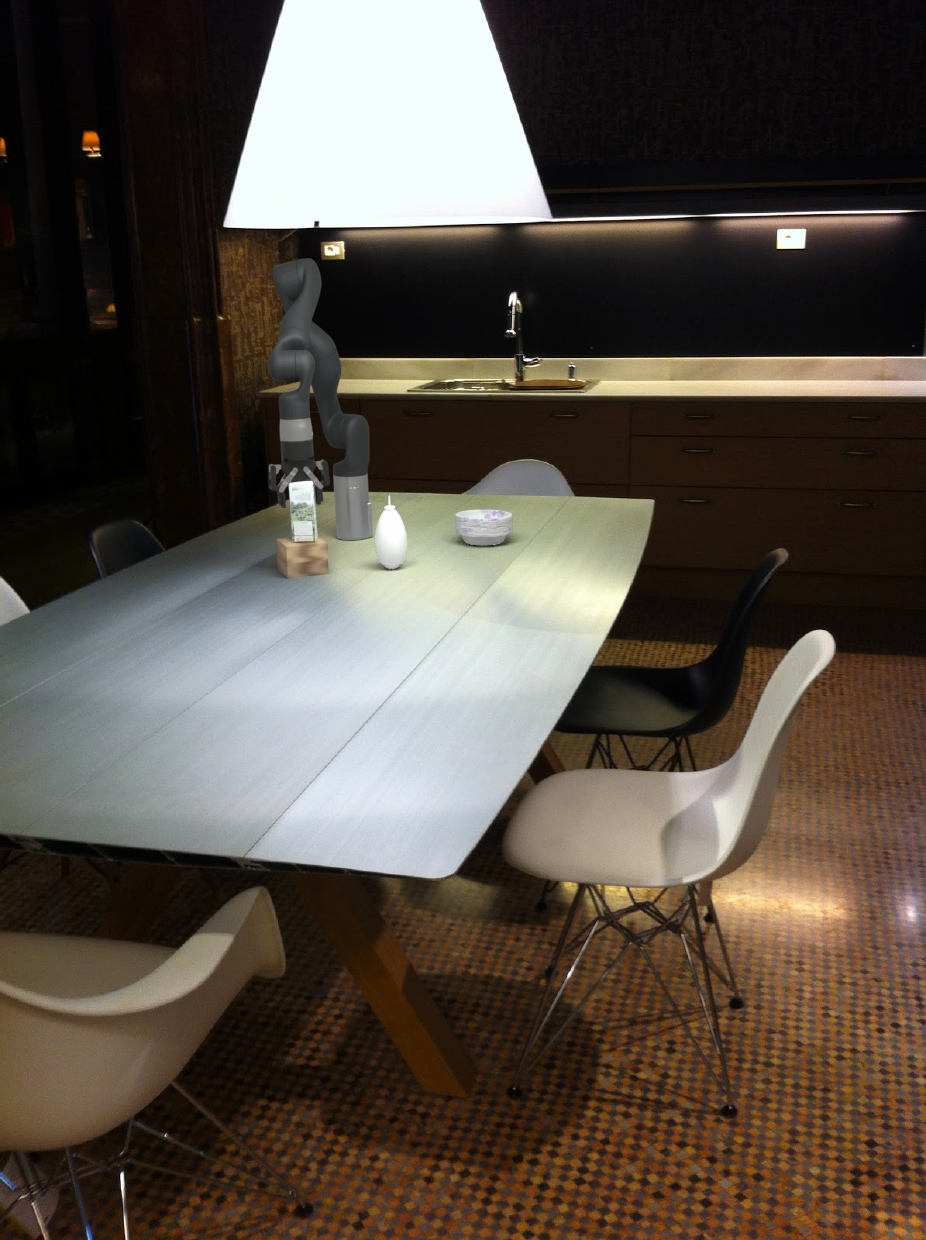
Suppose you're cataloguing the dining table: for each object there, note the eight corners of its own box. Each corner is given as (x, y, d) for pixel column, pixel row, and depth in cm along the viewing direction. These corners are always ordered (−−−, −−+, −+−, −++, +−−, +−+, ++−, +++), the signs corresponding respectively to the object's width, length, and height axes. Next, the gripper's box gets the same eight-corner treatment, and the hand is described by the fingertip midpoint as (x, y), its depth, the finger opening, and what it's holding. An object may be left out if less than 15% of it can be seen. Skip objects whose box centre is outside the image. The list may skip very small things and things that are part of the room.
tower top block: (317, 550, 286) (316, 534, 285) (328, 559, 277) (327, 542, 276) (277, 555, 282) (276, 539, 281) (287, 563, 273) (286, 547, 272)
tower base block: (317, 566, 287) (316, 551, 286) (328, 575, 278) (328, 559, 277) (277, 571, 283) (276, 555, 282) (288, 580, 274) (287, 564, 273)
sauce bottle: (403, 572, 277) (400, 498, 272) (372, 572, 279) (368, 497, 273) (411, 565, 284) (409, 492, 279) (380, 564, 286) (377, 492, 281)
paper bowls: (514, 536, 313) (514, 507, 311) (511, 549, 299) (510, 519, 296) (458, 536, 315) (457, 507, 312) (452, 549, 300) (451, 519, 298)
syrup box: (318, 537, 282) (314, 477, 278) (316, 542, 276) (312, 482, 272) (294, 538, 282) (290, 478, 278) (292, 543, 276) (287, 482, 272)
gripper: (321, 433, 277) (325, 500, 282) (262, 438, 272) (267, 506, 277) (330, 437, 271) (334, 505, 275) (270, 441, 266) (275, 511, 270)
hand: (300, 505), depth 276 cm, fingers open, 8 cm apart
